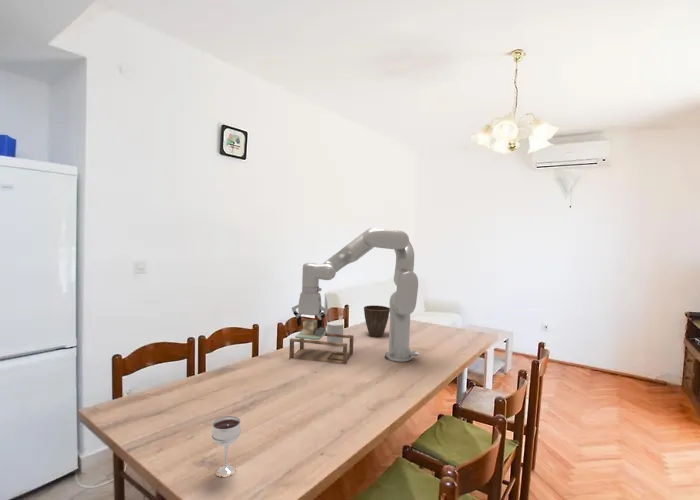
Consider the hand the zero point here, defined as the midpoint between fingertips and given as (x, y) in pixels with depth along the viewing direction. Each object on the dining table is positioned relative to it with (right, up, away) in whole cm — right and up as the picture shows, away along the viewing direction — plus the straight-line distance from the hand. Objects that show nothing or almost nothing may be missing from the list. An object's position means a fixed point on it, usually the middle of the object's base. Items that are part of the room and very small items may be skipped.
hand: (309, 326), depth 175 cm
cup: (+11, -14, +18) cm, 25 cm away
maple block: (0, -3, 0) cm, 3 cm away
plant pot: (+34, -14, +42) cm, 55 cm away
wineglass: (-11, -18, -83) cm, 86 cm away
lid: (+1, -4, 0) cm, 4 cm away
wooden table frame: (+6, -15, -1) cm, 16 cm away
